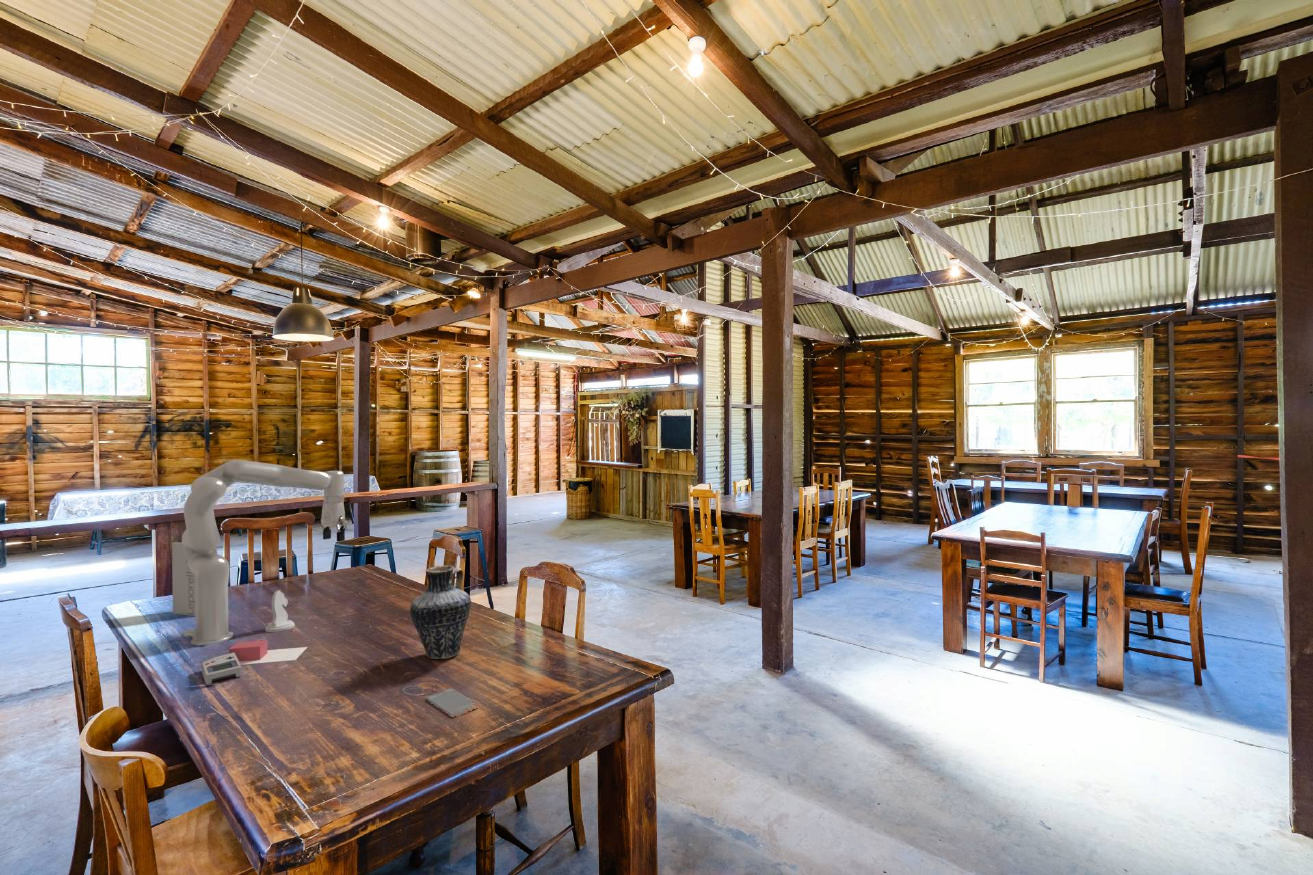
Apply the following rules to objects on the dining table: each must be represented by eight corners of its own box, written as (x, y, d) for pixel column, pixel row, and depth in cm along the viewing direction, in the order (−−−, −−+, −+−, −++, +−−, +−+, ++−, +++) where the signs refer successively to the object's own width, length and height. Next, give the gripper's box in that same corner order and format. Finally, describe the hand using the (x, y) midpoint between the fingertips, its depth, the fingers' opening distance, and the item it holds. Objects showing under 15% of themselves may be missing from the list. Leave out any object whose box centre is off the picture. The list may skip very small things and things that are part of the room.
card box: (229, 662, 192) (229, 648, 192) (237, 655, 198) (237, 642, 198) (260, 659, 194) (260, 646, 194) (267, 653, 200) (267, 640, 200)
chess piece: (300, 623, 232) (299, 586, 232) (284, 632, 222) (283, 593, 222) (276, 623, 232) (275, 586, 232) (258, 632, 223) (258, 593, 222)
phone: (452, 691, 172) (452, 687, 172) (480, 709, 161) (480, 704, 161) (425, 701, 166) (425, 697, 166) (453, 720, 155) (453, 715, 155)
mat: (219, 667, 189) (219, 666, 189) (236, 654, 200) (236, 652, 200) (295, 661, 194) (295, 659, 194) (307, 648, 206) (307, 646, 206)
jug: (451, 668, 187) (450, 576, 187) (398, 664, 191) (397, 573, 191) (483, 645, 208) (482, 562, 207) (434, 641, 212) (433, 559, 211)
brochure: (172, 613, 246) (171, 542, 246) (186, 609, 252) (185, 540, 251) (197, 616, 242) (196, 544, 242) (210, 612, 247) (209, 542, 247)
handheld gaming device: (235, 662, 191) (234, 651, 191) (242, 677, 181) (241, 665, 180) (201, 671, 185) (200, 659, 185) (206, 687, 174) (205, 674, 174)
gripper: (313, 499, 248) (313, 539, 248) (337, 501, 239) (337, 543, 240) (330, 497, 255) (330, 536, 255) (354, 500, 246) (354, 540, 246)
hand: (333, 539), depth 247 cm, fingers open, 9 cm apart
